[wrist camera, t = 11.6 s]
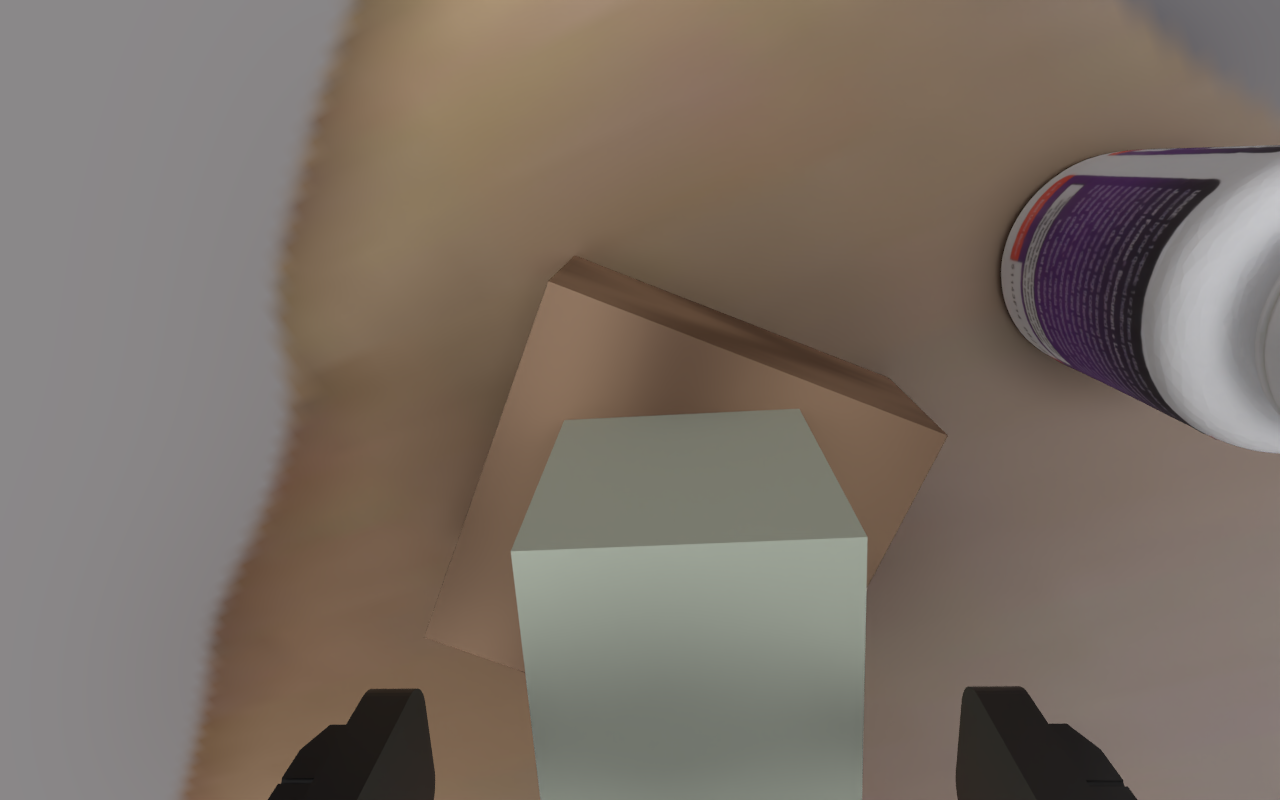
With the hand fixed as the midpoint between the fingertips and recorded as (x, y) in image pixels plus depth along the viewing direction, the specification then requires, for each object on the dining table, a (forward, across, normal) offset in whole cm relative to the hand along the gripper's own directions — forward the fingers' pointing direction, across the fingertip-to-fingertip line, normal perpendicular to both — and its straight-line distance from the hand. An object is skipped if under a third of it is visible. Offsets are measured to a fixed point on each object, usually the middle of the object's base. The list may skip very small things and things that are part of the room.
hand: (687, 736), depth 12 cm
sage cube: (+6, 0, -1) cm, 6 cm away
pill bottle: (+11, -11, -5) cm, 17 cm away
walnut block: (+11, 0, 0) cm, 11 cm away
